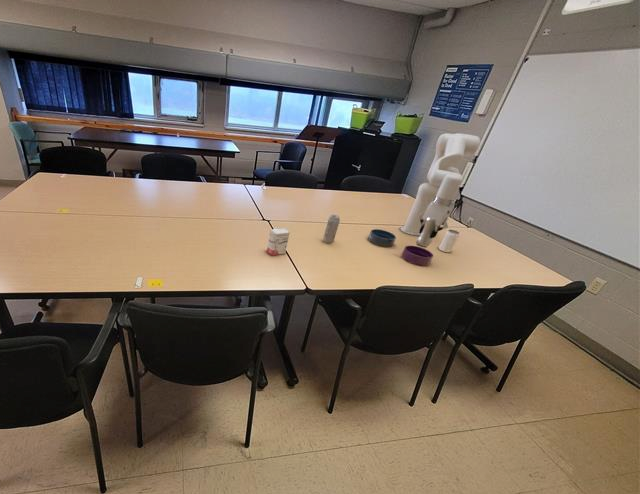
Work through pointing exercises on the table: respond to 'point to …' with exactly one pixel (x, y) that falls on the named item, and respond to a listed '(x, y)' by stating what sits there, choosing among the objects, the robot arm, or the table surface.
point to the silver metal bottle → (426, 233)
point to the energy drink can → (331, 229)
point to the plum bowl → (417, 255)
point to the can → (448, 240)
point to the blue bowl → (382, 237)
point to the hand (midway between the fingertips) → (426, 235)
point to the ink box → (278, 241)
